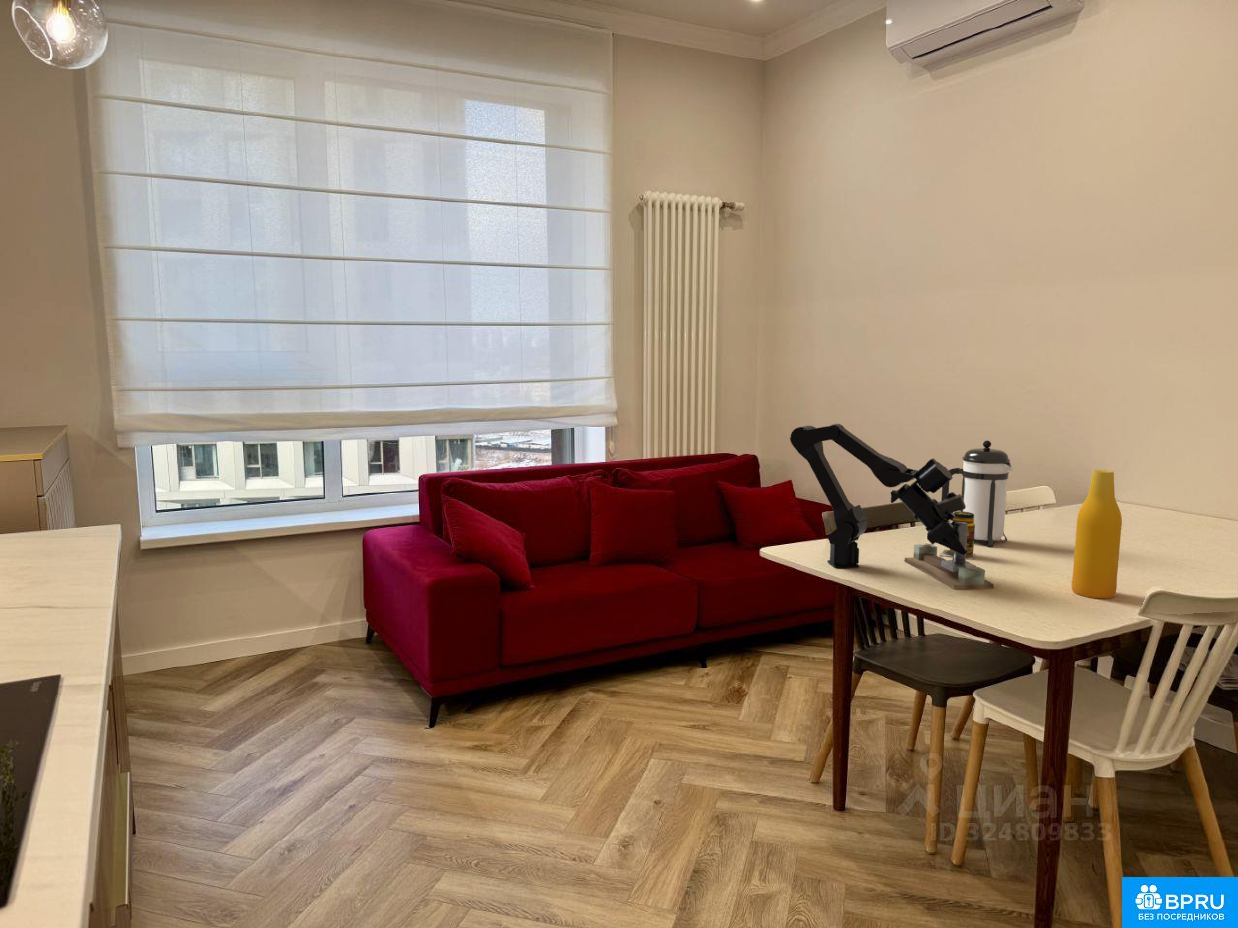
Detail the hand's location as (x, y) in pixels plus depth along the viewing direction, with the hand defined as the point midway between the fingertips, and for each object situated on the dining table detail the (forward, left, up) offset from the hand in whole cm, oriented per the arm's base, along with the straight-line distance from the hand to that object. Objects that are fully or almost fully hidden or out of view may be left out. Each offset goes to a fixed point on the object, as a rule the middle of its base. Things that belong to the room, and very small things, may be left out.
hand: (965, 552), depth 215 cm
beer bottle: (+25, -14, -7) cm, 29 cm away
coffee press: (+26, +41, -7) cm, 49 cm away
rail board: (-1, +6, -7) cm, 10 cm away
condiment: (+12, +25, -7) cm, 29 cm away
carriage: (-1, +1, -4) cm, 5 cm away
